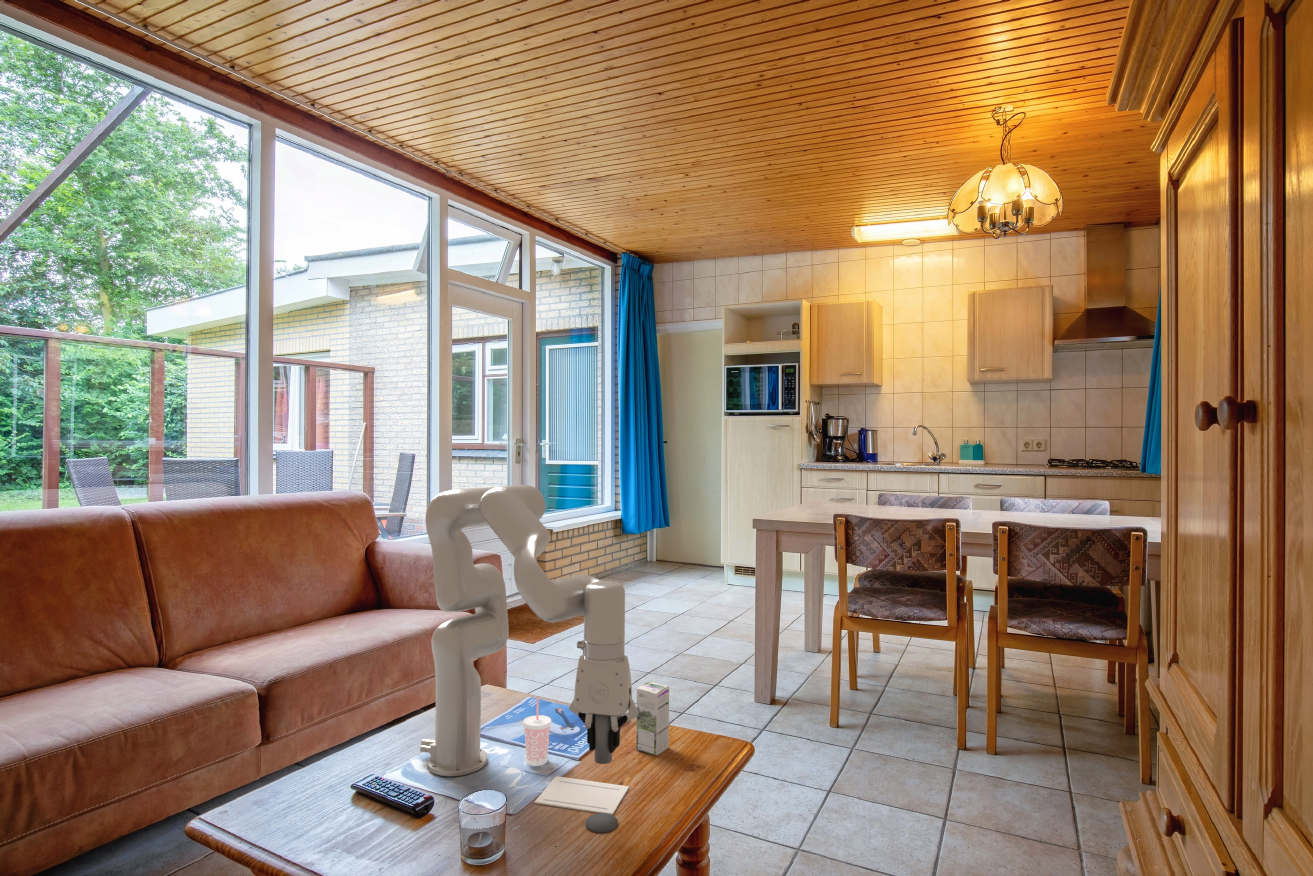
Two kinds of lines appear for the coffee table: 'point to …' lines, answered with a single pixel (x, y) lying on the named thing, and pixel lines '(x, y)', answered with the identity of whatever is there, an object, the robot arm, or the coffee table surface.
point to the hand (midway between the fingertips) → (603, 747)
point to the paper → (582, 795)
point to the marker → (602, 739)
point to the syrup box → (652, 718)
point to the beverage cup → (537, 738)
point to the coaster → (601, 823)
